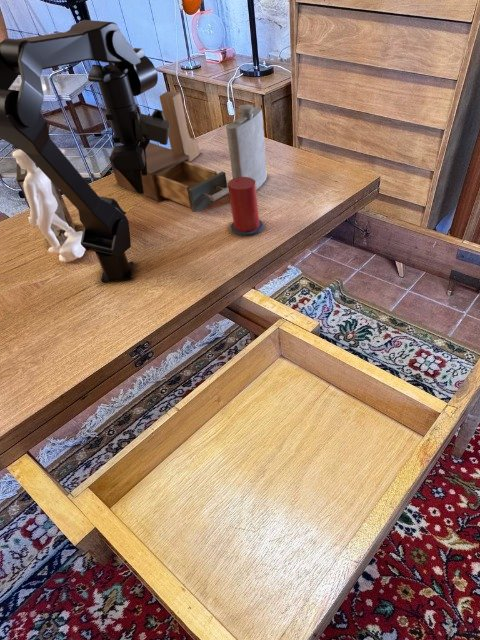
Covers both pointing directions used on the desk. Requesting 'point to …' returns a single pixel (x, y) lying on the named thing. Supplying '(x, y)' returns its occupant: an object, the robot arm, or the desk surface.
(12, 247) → the desk surface
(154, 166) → the cabinet
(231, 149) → the hip flask
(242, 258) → the desk surface
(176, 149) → the wooden block
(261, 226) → the mat
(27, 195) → the figurine
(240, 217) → the can
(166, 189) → the drawer
